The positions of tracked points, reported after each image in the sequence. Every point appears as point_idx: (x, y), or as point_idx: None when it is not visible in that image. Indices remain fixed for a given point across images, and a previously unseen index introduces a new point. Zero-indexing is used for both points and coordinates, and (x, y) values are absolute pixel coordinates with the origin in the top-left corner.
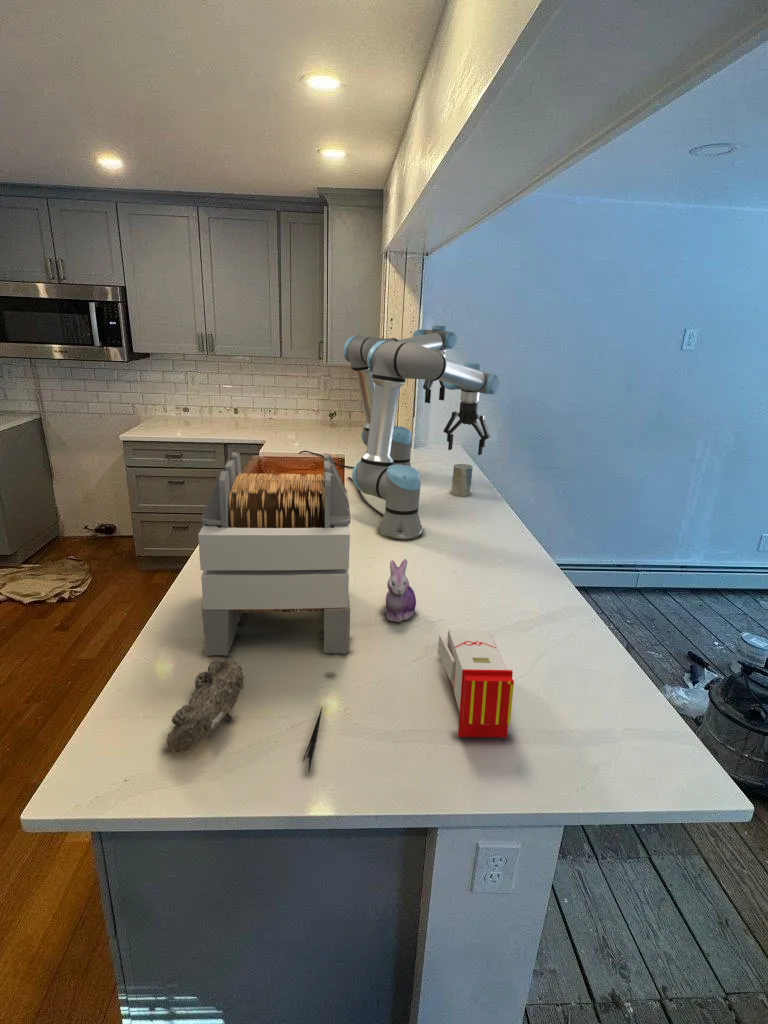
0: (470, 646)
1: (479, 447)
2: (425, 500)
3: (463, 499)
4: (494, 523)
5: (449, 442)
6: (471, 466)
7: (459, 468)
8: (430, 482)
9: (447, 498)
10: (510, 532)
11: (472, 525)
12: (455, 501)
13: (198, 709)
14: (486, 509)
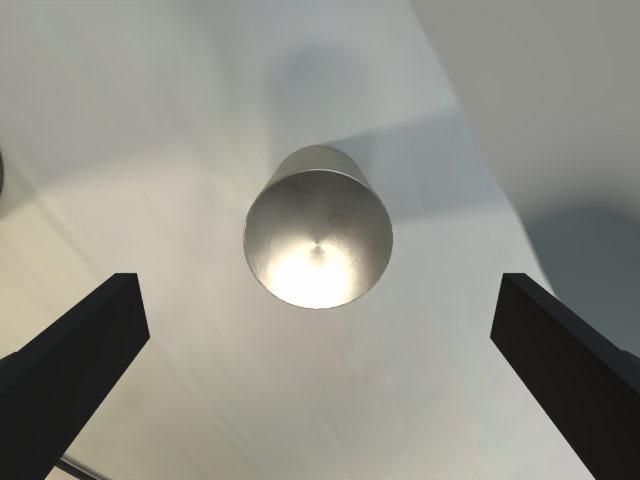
0: None
1: (552, 405)
2: (239, 361)
3: None
4: (536, 423)
5: (83, 406)
6: (376, 211)
7: (317, 308)
8: (93, 106)
9: None
10: None
11: (473, 467)
12: (343, 307)
13: None
14: (485, 322)
